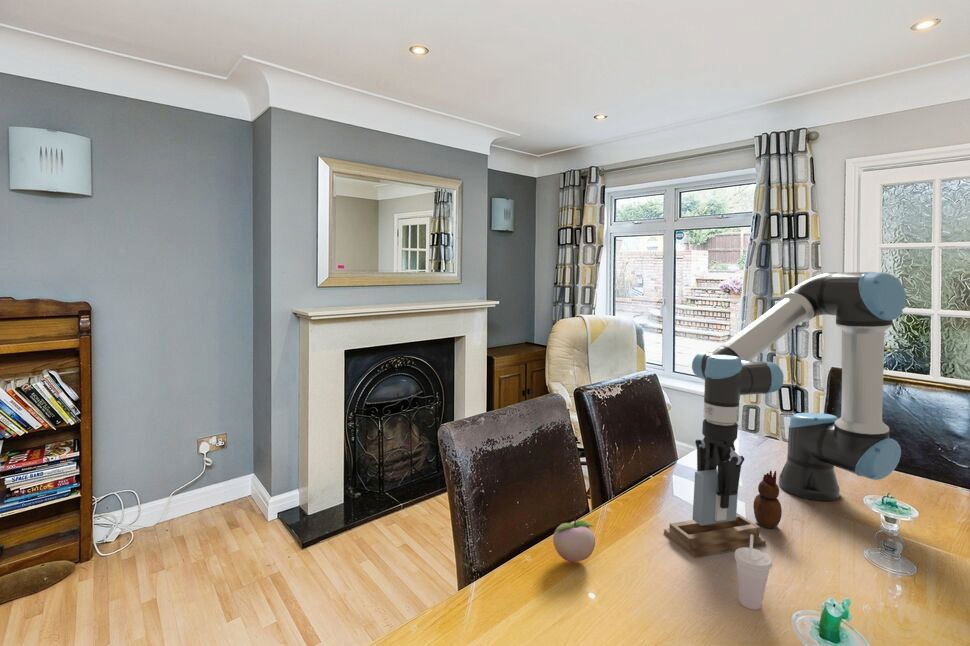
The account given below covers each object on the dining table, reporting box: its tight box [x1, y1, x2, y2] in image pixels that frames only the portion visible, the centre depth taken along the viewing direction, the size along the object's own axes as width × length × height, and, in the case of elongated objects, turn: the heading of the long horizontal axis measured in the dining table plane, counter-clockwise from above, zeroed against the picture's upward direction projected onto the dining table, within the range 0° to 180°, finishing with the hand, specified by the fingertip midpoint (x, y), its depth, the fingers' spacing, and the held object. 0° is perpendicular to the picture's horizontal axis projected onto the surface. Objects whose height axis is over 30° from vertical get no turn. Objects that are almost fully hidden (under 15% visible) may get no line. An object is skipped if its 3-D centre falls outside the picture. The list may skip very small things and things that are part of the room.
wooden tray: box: [663, 512, 767, 558], centre depth 118 cm, size 20×11×3 cm, turn 106°
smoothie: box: [734, 534, 773, 610], centre depth 94 cm, size 6×6×14 cm
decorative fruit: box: [552, 518, 596, 563], centre depth 107 cm, size 9×8×10 cm
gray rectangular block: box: [692, 468, 739, 526], centre depth 117 cm, size 10×3×12 cm, turn 106°
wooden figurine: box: [752, 470, 783, 529], centre depth 124 cm, size 7×6×15 cm
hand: (714, 515), depth 117 cm, fingers closed on gray rectangular block, 3 cm apart
